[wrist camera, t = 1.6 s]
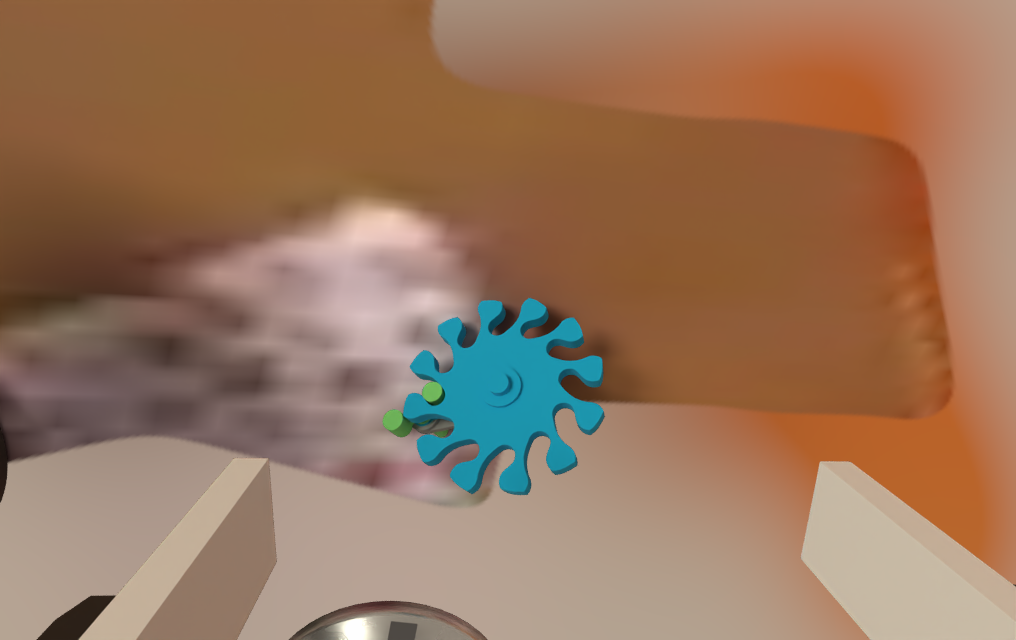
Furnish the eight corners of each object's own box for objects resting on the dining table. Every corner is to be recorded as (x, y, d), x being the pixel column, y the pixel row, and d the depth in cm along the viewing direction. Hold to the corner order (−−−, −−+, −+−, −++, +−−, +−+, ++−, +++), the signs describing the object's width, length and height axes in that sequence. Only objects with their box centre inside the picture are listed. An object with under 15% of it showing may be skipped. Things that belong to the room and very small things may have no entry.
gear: (581, 271, 28) (628, 469, 23) (591, 324, 33) (630, 494, 28) (376, 318, 29) (378, 514, 24) (416, 362, 34) (424, 530, 29)
